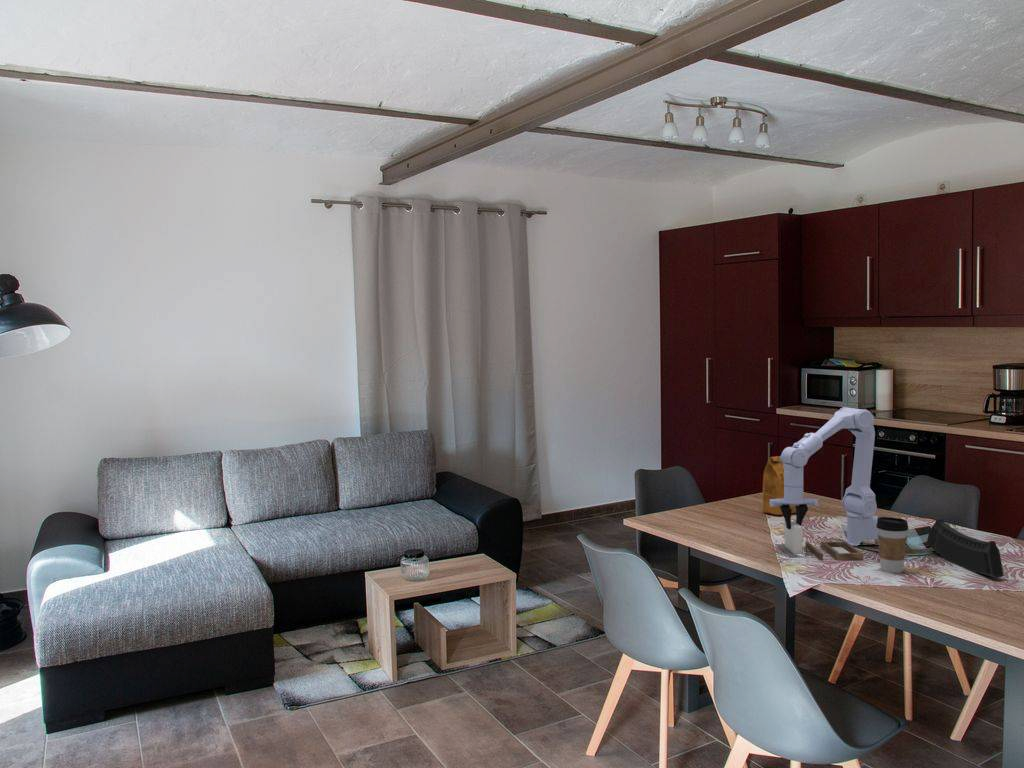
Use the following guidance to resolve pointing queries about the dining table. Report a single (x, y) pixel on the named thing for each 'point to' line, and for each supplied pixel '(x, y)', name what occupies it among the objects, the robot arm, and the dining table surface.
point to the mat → (788, 552)
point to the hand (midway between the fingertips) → (793, 528)
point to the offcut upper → (840, 550)
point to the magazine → (965, 550)
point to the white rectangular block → (794, 538)
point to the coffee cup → (892, 543)
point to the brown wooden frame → (828, 548)
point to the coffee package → (773, 485)
